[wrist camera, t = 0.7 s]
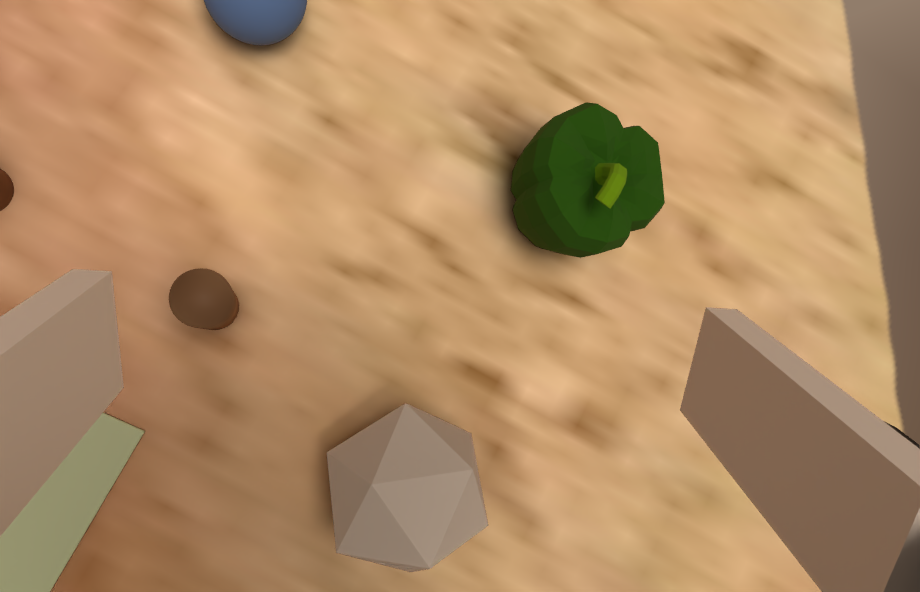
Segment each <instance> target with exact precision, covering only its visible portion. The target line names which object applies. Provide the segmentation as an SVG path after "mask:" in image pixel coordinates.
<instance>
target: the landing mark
mask: <svg viewBox="0 0 920 592" xmlns="http://www.w3.org/2000/svg"><path fill="white" fill-rule="evenodd" d="M144 432H145V431H144V430H142V429H139V428H137V427H135V426H133V425H131V424H128V423H126V422H124V421H122V420H119V419H117V418H115V417H113V416H110V415H108V414H106V413H104V412H103V413H102V414H101V416H100V417H99V418H98V419H97V420H96V422H95V423H94V424H93V425H92V426H91V428H90V429H89V430H88V431H87V432H86V434H85V435H84V436H83V437H82V438H81V440H80V441H79V442H78V443H77V445H76V446H75V447H74V448H73V449H72V451H71V452H70V453H69V454H68V455H67V457H66V458H65V459H64V460H63V461H62V463H61V464H60V465H59V466H58V467H57V469H56V470H55V471H54V472H53V474H52V475H51V476H50V477H49V478H48V480H47V481H46V482H45V483H44V484H43V486H42V487H41V488H40V489H39V490H38V492H37V493H36V494H35V495H34V496H33V498H32V499H31V500H30V501H29V502H28V504H27V505H26V506H25V507H24V509H23V510H22V511H21V512H20V513H19V515H18V516H17V517H16V518H15V519H14V521H13V522H12V523H11V524H10V525H9V527H8V528H7V529H6V530H5V531H4V533H3V534H2V535H1V536H0V592H50V591H51V590H52V588H53V586H54V584H55V583H56V581H57V579H58V578H59V576H60V574H61V573H62V571H63V569H64V568H65V566H66V564H67V562H68V561H69V559H70V557H71V556H72V554H73V552H74V551H75V549H76V547H77V546H78V544H79V542H80V540H81V539H82V537H83V535H84V534H85V532H86V530H87V529H88V527H89V525H90V524H91V522H92V520H93V518H94V517H95V515H96V513H97V512H98V510H99V508H100V507H101V505H102V503H103V502H104V500H105V498H106V496H107V495H108V493H109V491H110V490H111V488H112V486H113V485H114V483H115V481H116V480H117V478H118V476H119V474H120V473H121V471H122V469H123V468H124V466H125V464H126V463H127V461H128V459H129V458H130V456H131V454H132V452H133V451H134V449H135V447H136V446H137V444H138V442H139V441H140V439H141V437H142V436H143V434H144Z"/></svg>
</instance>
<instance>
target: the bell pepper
mask: <svg viewBox="0 0 920 592" xmlns="http://www.w3.org/2000/svg"><path fill="white" fill-rule="evenodd" d="M511 191H512V193H513V195H514V197H515V198H516V202H515V205H514V207H513V213H514V216H515V219H516V222H517V226H518V229H519V230H520V231H521V232H522V233H523V234H524V235H525V236H526V237H527V238H528V239H529V240H530V241H531V242H532V243H533V244H534V245H535V246H538V247H540V248H543V249H546V250H550V251H554V252H557V253H561V254H564V255H570V256H575V257H580V258H581V257H585V256H590V255H595V254H599V253H602V252H605V251H608V250H612V249H615V248H618V247H621V246H622V245H623V244H624V242H625V241H626V240H627V238H628V237H629V234H630V231H634V230H638V229H642V228H645V227H646V226H647V225H648V223H649V222H650V221H651V220H652V219H653V218H654V217H655V215H656V214H657V213H658V212H659V211H660V209H661V208H662V206H663V205H664V203H665V202H664V191H663V181H662V171H661V163H660V155H659V147H658V142H657V141H655V140H654V139H653V138H652V137H651V136H650V135H649V134H648V133H647V132H646V131H645V130H643V129H642V128H641V127H640V126H631V127H626V128H623V127H622V125H621V123H620V121H619V119H618V117H617V115H615V114H614V113H612V112H610V111H609V110H607V109H605V108H603V107H602V106H600V105H598V104H595V103H584V104H582V105H579V106H577V107H575V108H573V109H571V110H568V111H566V112H564V113H562V114H560V115H557V116H555V117H554V118H552V119H551V120H550V121H549V122H547V123H546V124H545V125H544V126H543V127H541V128H540V130H539V131H538V132H537V134H536V135H535V136H534V137H533V139H532V140H531V141H530V143H529V144H528V145H527V147H526V148H525V149H524V151H523V153H522V154H521V156H520V158H519V159H518V161H517V163H516V165H515V167H514V169H513V173H512V184H511Z"/></svg>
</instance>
